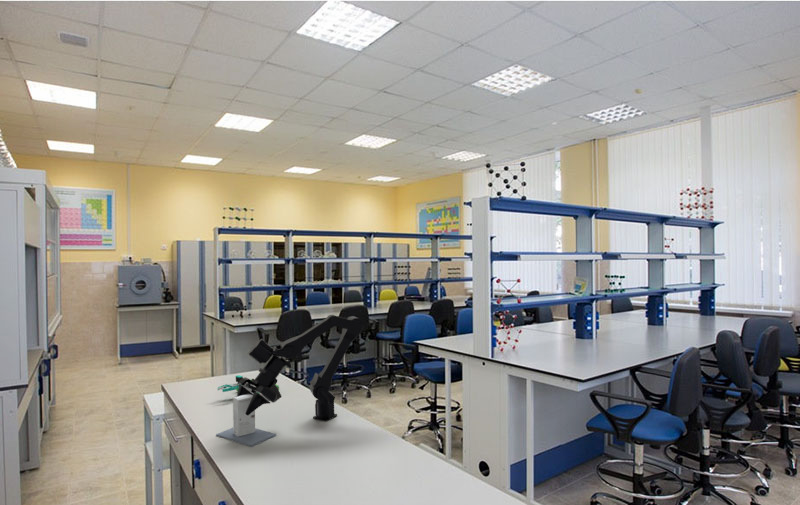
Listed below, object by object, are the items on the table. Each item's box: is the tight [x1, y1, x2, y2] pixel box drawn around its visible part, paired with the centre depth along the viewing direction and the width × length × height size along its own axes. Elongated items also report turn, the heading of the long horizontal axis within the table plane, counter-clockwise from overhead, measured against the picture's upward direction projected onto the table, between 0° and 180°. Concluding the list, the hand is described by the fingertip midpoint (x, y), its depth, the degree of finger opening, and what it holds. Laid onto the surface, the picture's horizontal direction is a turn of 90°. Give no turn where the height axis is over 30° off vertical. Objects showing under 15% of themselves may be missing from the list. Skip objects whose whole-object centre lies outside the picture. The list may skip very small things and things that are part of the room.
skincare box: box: [232, 394, 256, 437], centre depth 149 cm, size 6×4×12 cm
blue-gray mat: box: [215, 427, 277, 447], centre depth 148 cm, size 18×10×1 cm, turn 57°
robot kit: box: [217, 374, 280, 394], centre depth 193 cm, size 19×25×9 cm
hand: (240, 411), depth 148 cm, fingers open, 9 cm apart
